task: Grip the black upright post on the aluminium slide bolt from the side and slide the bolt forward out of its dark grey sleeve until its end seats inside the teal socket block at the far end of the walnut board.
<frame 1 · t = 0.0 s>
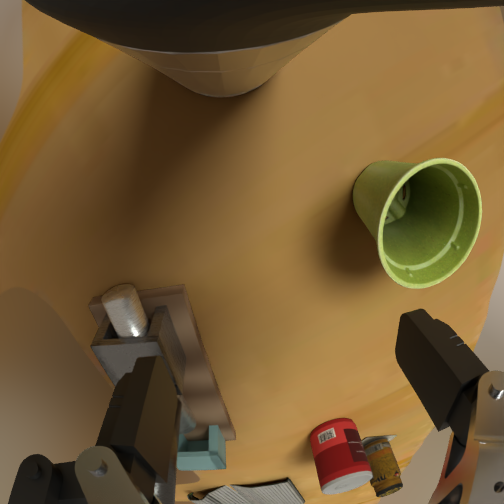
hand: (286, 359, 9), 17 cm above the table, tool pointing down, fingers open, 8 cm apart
slide bolt: (145, 425, 22), point 10 cm above the table, slide at 0.0 cm
socket block: (198, 426, 38), resting on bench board
canned food: (331, 428, 42), on the table
plant pot: (380, 191, 25), on the table
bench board: (175, 382, 34), on the table
mat: (250, 493, 56), on the table
condiment: (370, 443, 47), on the table
sleeve: (149, 327, 30), resting on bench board
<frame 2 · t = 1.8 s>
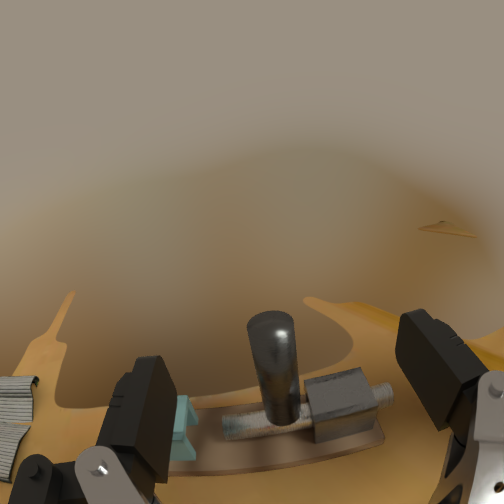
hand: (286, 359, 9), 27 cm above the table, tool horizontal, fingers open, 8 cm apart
slide bolt: (308, 379, 28), point 10 cm above the table, slide at 0.0 cm
socket block: (181, 444, 32), resting on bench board
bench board: (266, 437, 32), on the table
sleeve: (337, 423, 32), resting on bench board
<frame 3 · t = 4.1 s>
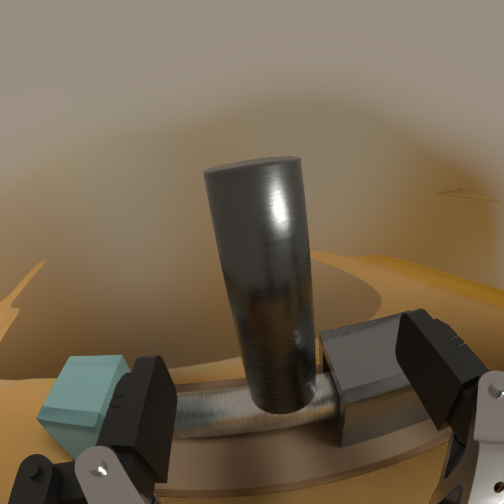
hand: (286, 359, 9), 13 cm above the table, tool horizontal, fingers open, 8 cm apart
slide bolt: (331, 316, 15), point 10 cm above the table, slide at 0.0 cm
socket block: (118, 439, 19), resting on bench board
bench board: (254, 436, 19), on the table
sleeve: (373, 411, 19), resting on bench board
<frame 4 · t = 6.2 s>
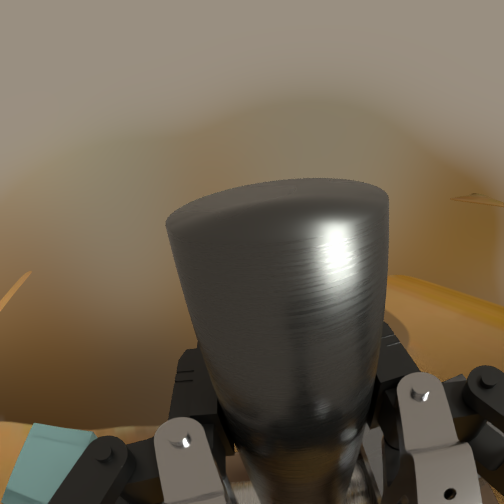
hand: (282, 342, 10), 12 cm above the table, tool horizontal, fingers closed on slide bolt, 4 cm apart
slide bolt: (383, 423, 8), point 10 cm above the table, slide at 0.0 cm, touching gripper
sleeve: (405, 487, 12), resting on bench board
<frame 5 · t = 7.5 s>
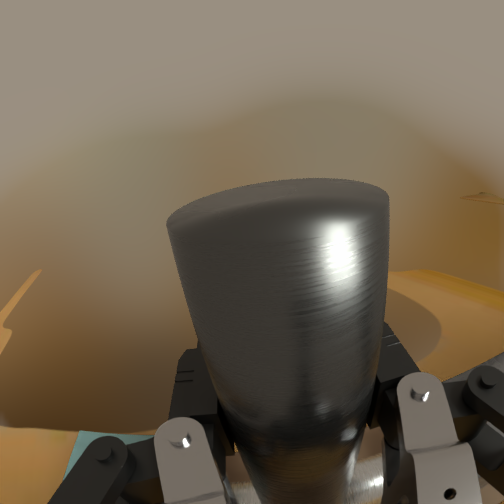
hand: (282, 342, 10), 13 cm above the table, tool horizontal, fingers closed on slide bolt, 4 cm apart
slide bolt: (384, 423, 8), point 10 cm above the table, slide at 4.1 cm, touching gripper
sleeve: (457, 462, 12), resting on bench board
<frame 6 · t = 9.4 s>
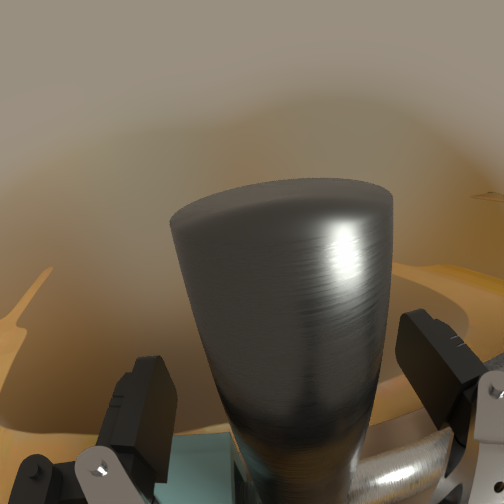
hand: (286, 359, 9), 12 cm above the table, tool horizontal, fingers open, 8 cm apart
slide bolt: (385, 423, 8), point 10 cm above the table, slide at 7.9 cm
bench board: (390, 492, 12), on the table
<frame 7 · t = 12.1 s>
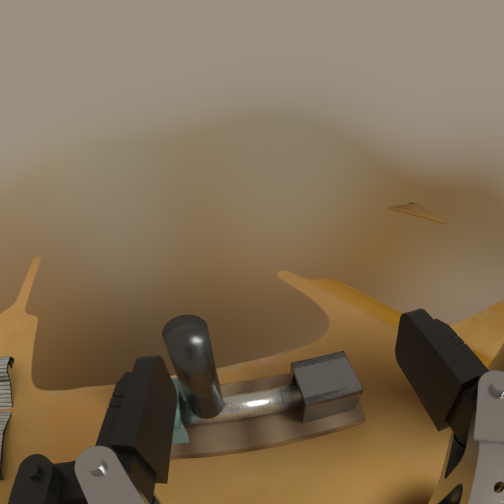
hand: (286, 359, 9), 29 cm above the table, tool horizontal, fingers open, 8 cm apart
slide bolt: (228, 378, 30), point 10 cm above the table, slide at 7.9 cm
socket block: (170, 426, 34), resting on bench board
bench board: (253, 416, 35), on the table
sleeve: (319, 402, 36), resting on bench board
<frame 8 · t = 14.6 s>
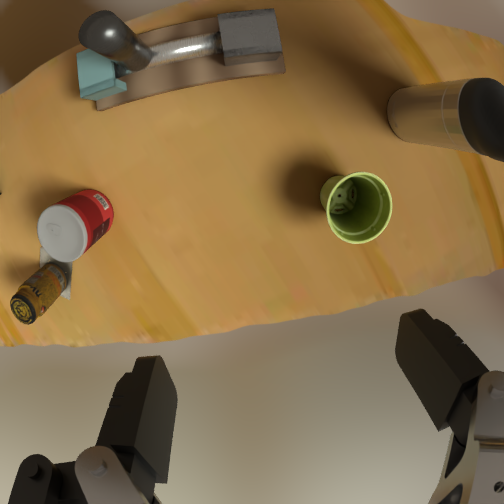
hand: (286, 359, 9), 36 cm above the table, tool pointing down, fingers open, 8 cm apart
slide bolt: (149, 40, 26), point 10 cm above the table, slide at 7.9 cm
socket block: (112, 76, 35), resting on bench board
canned food: (93, 211, 43), on the table
plant pot: (338, 194, 44), on the table
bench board: (183, 56, 35), on the table
condiment: (55, 273, 46), on the table
sleeve: (247, 45, 35), resting on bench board
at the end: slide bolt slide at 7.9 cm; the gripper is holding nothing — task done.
